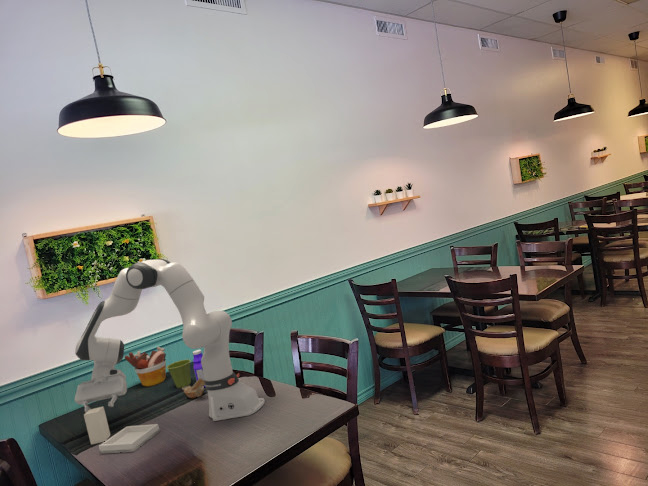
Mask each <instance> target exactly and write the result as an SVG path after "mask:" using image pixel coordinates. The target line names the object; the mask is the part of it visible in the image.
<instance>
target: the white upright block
mask: <svg viewBox="0 0 648 486" xmlns="http://www.w3.org/2000/svg"><path fill="white" fill-rule="evenodd" d="M83 418H84V421H85V425H86V431H87V434H88V438H89V442H90V445H96V444H100V443H104V441H106V440H108V439H109V438H110V437H111V431H110V428H109V427H110V426H109V423H108V419H107V415H106V411H105V407H104V406H99V407H95V408H91V409H90V410H89V411H88V412H85V413H84V414H83Z"/></svg>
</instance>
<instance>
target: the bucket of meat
mask: <svg viewBox="0 0 648 486" xmlns="http://www.w3.org/2000/svg"><path fill="white" fill-rule="evenodd" d="M156 349H157V350H152V351H151V353H150V355H149V354H148V353H147V352H145V351H144V352H143V353H141V350H138V351H137V352H136V353H135V354H134V353H133V352H129V354H128V355H125V356H124V359H125V360H126V361H127V363H129V365H131V366H132V367H134V371H135V373H136V375H137V377H138V379H139V381H140V383H141V385H142V386H143V387H148V388H149V387H153V386H156V385H159V384H162V383H163V382H165V379H166V377H167V374H166V373H167V372H166V371H167V368H166V367H167V366H166V364H167V360H166V355H167V353H165V352H164V351H166V350H165V348H164V347H160V346H157V347H156Z"/></svg>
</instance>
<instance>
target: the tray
mask: <svg viewBox="0 0 648 486" xmlns="http://www.w3.org/2000/svg"><path fill="white" fill-rule="evenodd" d="M160 432H161V431H160V427H159V424H158V423H154V424H151V423H150V424H140V425H130V426H125V427H124V428H123V429H120V431H118V432H116V433H115V434H114V435H112V436H110V437H109V438H108V439H107V440H106V441H105V442H101V444H99V445H98V448H99V453H100V455H102V454H103V455H104V454H118V453H119V454H121V453H120V452H122V453H135V451H136V450H138V449H140V448H141V447H142V446H143V445H145V442H146V443H147V442H149V441H150V440H151V439H152V438H153V437H155V436H157V435H158V433H160ZM149 439H150V440H149ZM140 446H141V447H140Z"/></svg>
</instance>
